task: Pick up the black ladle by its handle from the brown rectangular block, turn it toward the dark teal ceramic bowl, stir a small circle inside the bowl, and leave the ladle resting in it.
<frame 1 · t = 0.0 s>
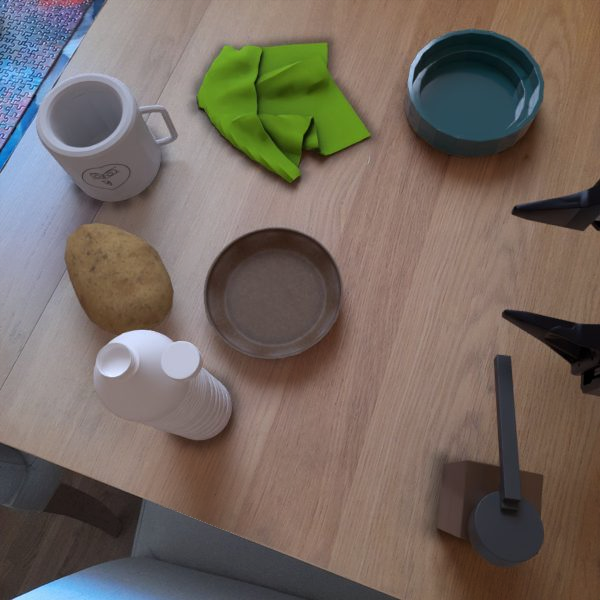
hand: (508, 260, 46), 15 cm above the table, tool horizontal, fingers open, 9 cm apart
bowl: (467, 105, 68), on the table
saucer: (275, 298, 62), on the table
ladle: (500, 532, 44), point 11 cm above the table, tilted 16°, touching brown rectangular block
mug: (130, 162, 69), on the table
brown rectangular block: (471, 501, 55), on the table
cloth: (283, 110, 70), on the table
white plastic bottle: (212, 408, 59), on the table
potato: (132, 291, 64), on the table
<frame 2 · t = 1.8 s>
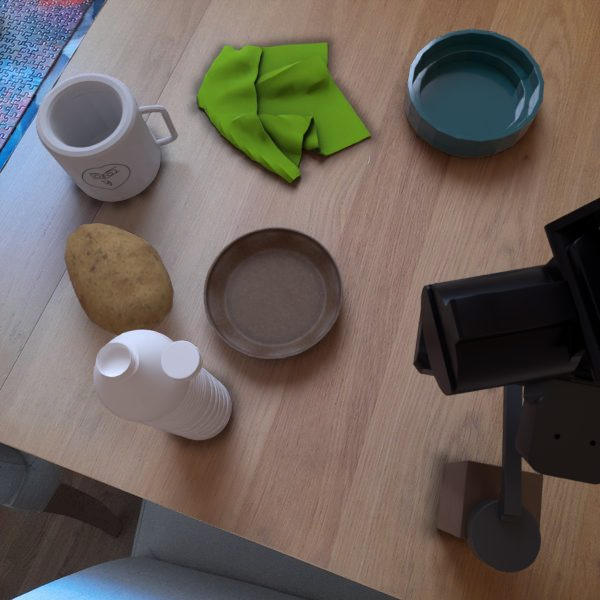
hand: (519, 372, 46), 12 cm above the table, tool pointing down, fingers open, 9 cm apart
ladle: (497, 533, 44), point 11 cm above the table, touching brown rectangular block
everything else where it was.
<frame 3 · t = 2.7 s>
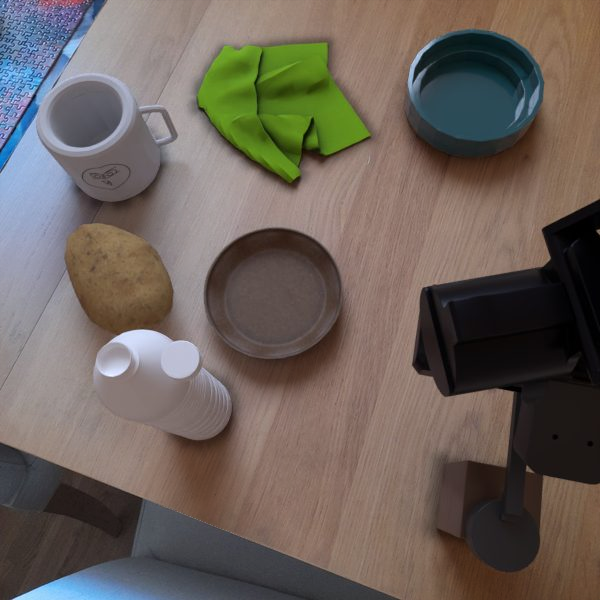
hand: (517, 373, 46), 12 cm above the table, tool pointing down, fingers closed on ladle
ladle: (496, 532, 44), point 11 cm above the table, touching gripper, brown rectangular block
everything else where it was.
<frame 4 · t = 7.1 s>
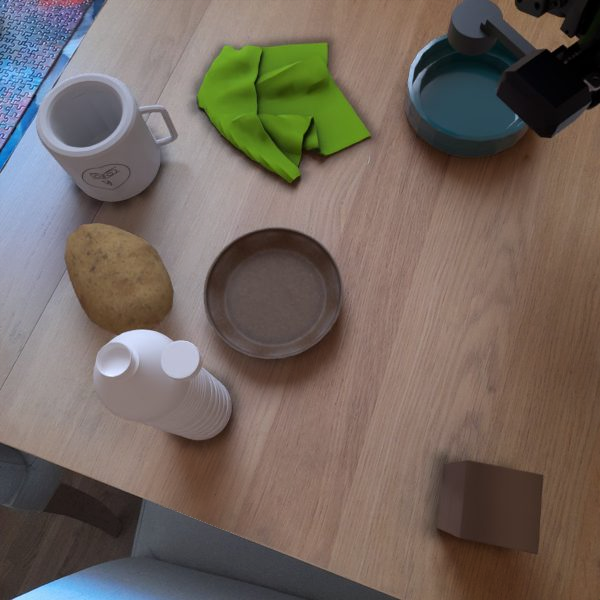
hand: (567, 111, 53), 12 cm above the table, tool pointing down, fingers closed on ladle
ladle: (471, 35, 58), point 11 cm above the table, touching gripper
everything else where it was.
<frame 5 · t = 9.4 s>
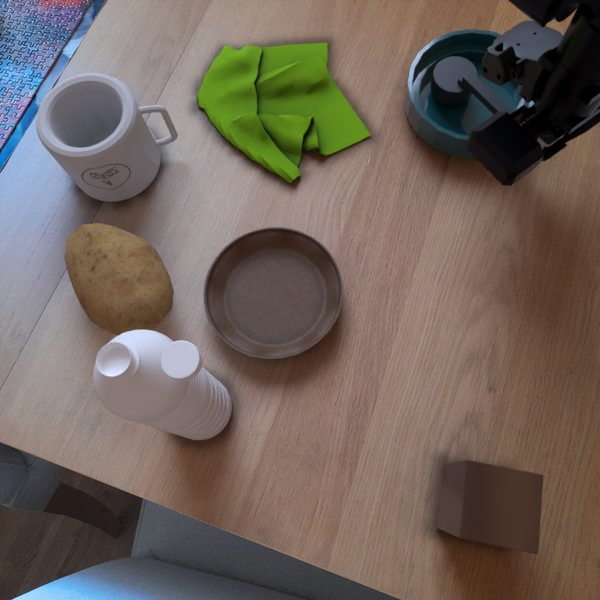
hand: (532, 156, 62), 3 cm above the table, tool pointing down, fingers closed on ladle
ladle: (451, 87, 67), point 2 cm above the table, touching gripper
everything else where it was.
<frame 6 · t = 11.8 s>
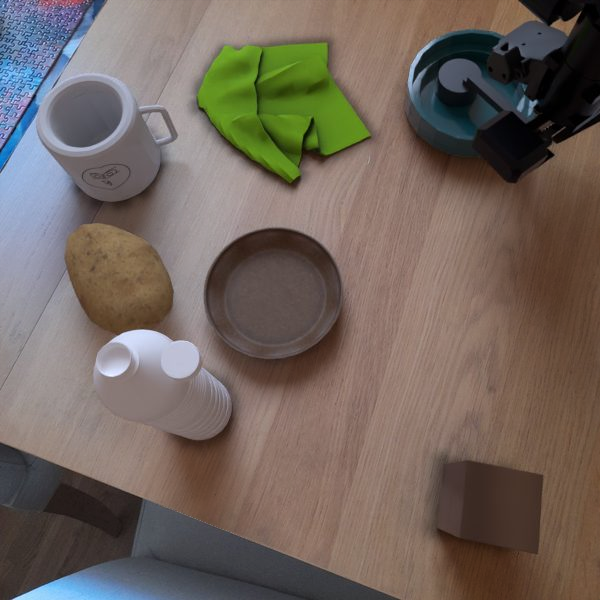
hand: (535, 154, 63), 2 cm above the table, tool pointing down, fingers open, 5 cm apart
ladle: (456, 89, 68), point 1 cm above the table, touching bowl
everything else where it was.
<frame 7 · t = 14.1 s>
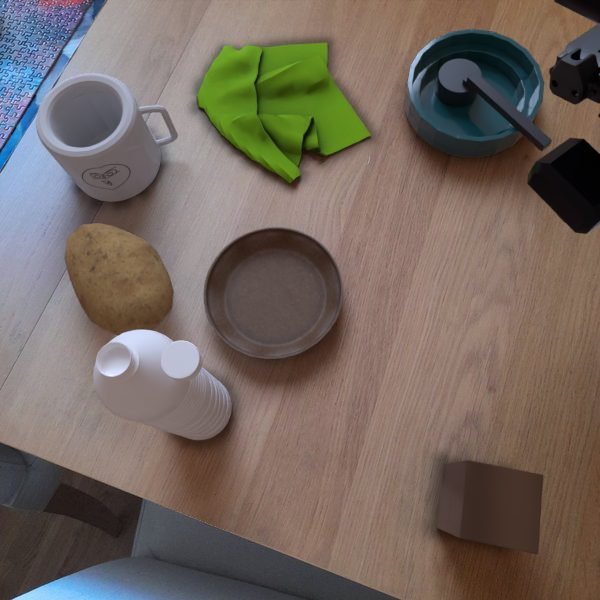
nothing on the table moved.
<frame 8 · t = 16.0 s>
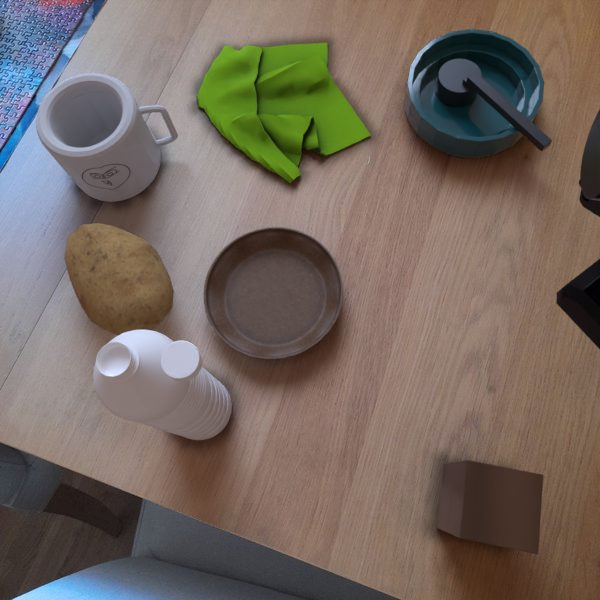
nothing on the table moved.
at the end: ladle inside the target area in the bowl (2.2 cm from its centre), point 0.7 cm above the bowl's base; ladle moved 48.0 cm from its start; the gripper is holding nothing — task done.
